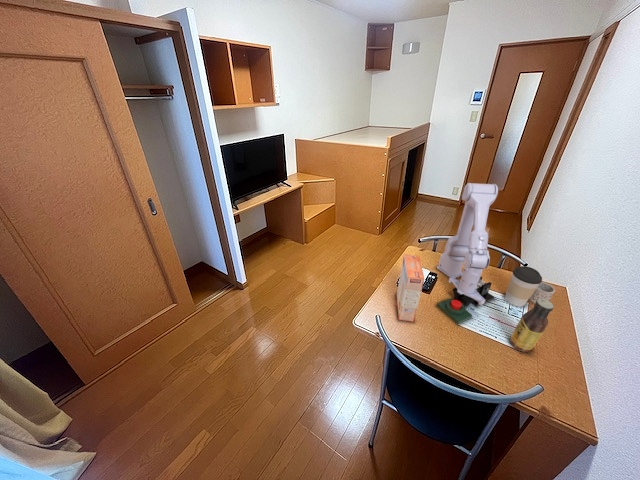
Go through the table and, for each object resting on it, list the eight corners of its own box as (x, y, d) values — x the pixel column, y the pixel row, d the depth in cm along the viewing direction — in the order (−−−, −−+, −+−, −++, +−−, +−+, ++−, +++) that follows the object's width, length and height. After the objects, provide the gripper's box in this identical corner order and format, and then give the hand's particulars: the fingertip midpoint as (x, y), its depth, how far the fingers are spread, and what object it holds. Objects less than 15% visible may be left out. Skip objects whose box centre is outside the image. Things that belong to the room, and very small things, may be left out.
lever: (464, 304, 102) (463, 300, 100) (458, 299, 104) (458, 296, 102) (486, 286, 103) (486, 282, 101) (480, 282, 105) (480, 278, 103)
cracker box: (414, 322, 96) (425, 278, 85) (397, 320, 97) (406, 276, 86) (411, 296, 107) (420, 254, 96) (396, 294, 108) (403, 253, 97)
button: (448, 304, 98) (449, 301, 98) (455, 301, 100) (456, 298, 99) (455, 311, 96) (457, 307, 95) (462, 308, 97) (464, 304, 96)
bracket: (476, 307, 101) (482, 291, 97) (459, 294, 107) (464, 278, 103) (493, 299, 105) (500, 283, 100) (476, 287, 111) (481, 271, 107)
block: (436, 306, 102) (438, 300, 100) (449, 300, 104) (451, 294, 103) (457, 324, 94) (460, 318, 92) (471, 318, 97) (473, 311, 95)
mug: (550, 301, 103) (558, 288, 99) (542, 308, 100) (550, 295, 96) (523, 287, 110) (529, 274, 107) (515, 293, 107) (521, 280, 104)
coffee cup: (521, 293, 107) (536, 264, 99) (533, 309, 99) (550, 279, 92) (497, 291, 108) (510, 262, 100) (508, 307, 101) (522, 278, 93)
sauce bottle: (510, 333, 90) (533, 291, 80) (532, 343, 87) (559, 300, 76) (507, 346, 86) (531, 303, 76) (530, 357, 83) (558, 313, 72)
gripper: (446, 271, 101) (438, 297, 108) (479, 295, 90) (469, 322, 97) (459, 266, 103) (451, 292, 110) (493, 289, 92) (482, 315, 99)
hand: (460, 305), depth 104 cm, fingers open, 3 cm apart
